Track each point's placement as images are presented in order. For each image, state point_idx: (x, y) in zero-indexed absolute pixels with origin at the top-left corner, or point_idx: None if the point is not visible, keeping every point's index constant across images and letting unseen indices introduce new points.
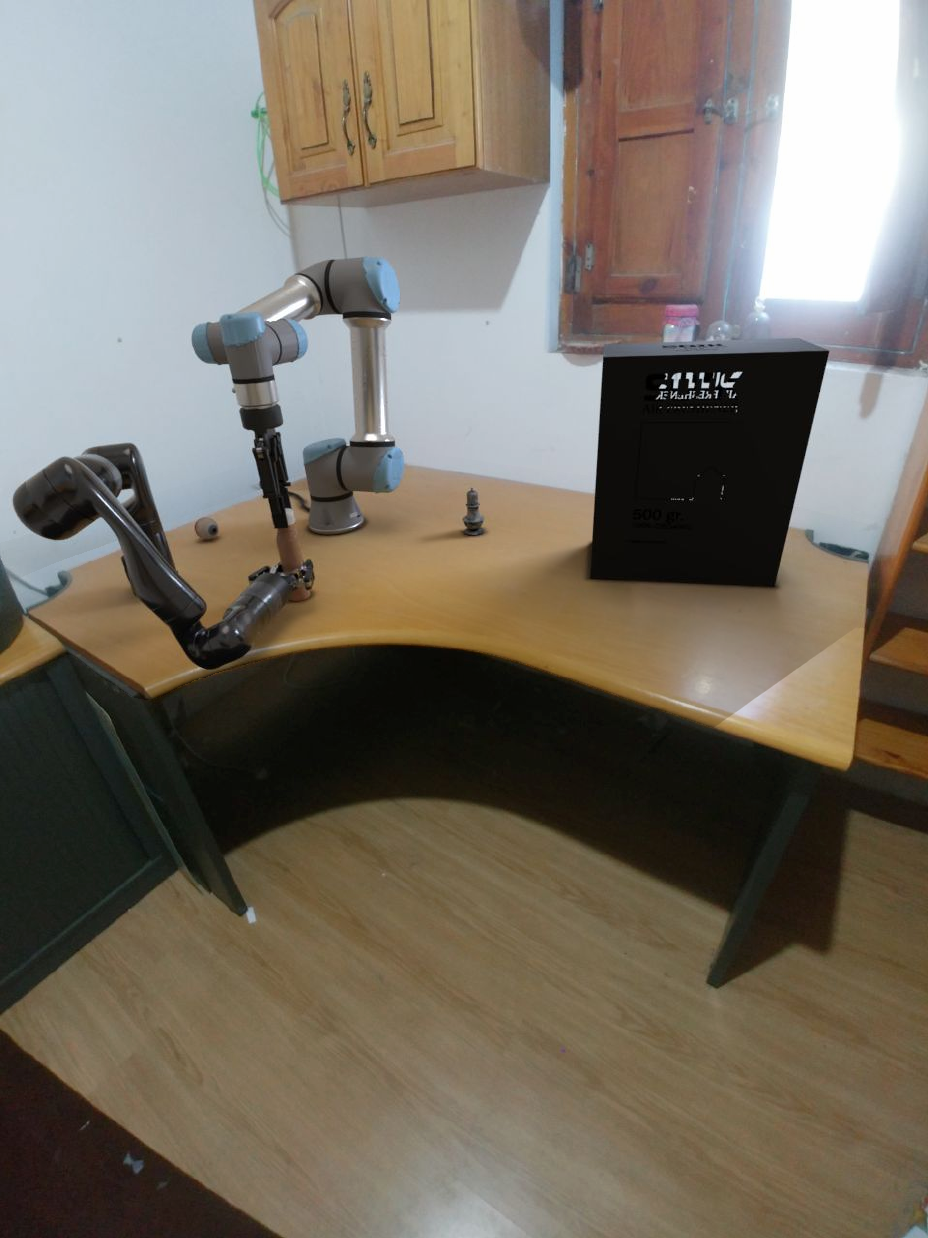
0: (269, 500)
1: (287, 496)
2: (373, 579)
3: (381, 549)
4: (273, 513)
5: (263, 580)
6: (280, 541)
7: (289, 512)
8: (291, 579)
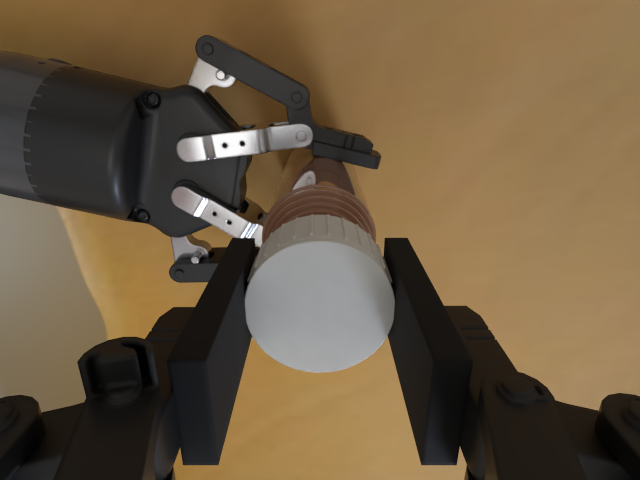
0: (176, 351)
1: (406, 403)
2: (386, 352)
3: (583, 359)
4: (167, 313)
5: (37, 162)
6: (266, 219)
7: (298, 357)
8: (176, 222)
